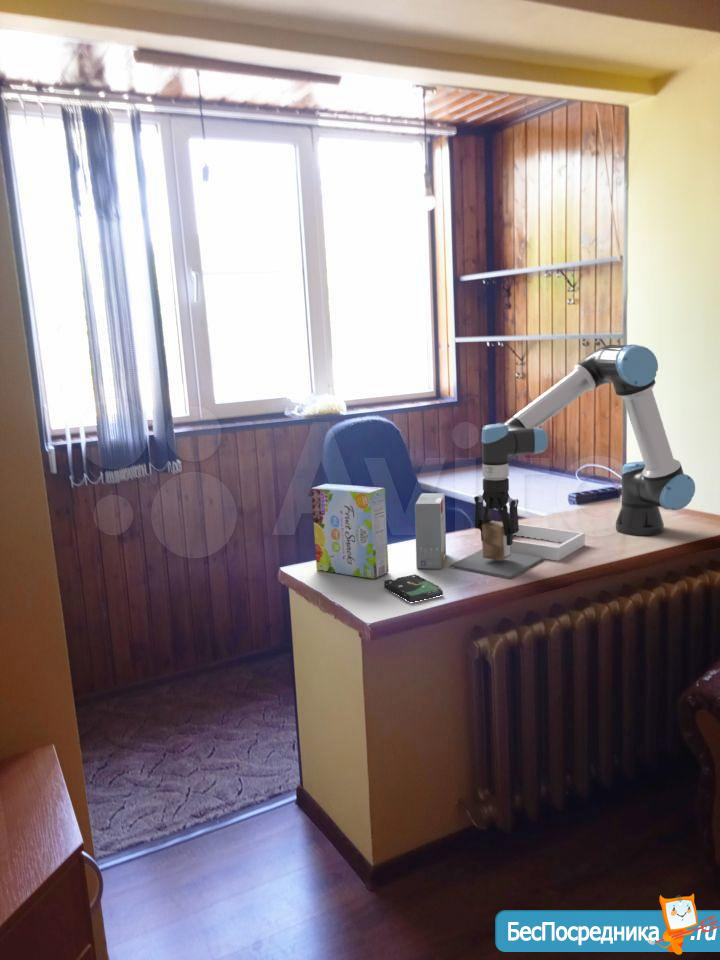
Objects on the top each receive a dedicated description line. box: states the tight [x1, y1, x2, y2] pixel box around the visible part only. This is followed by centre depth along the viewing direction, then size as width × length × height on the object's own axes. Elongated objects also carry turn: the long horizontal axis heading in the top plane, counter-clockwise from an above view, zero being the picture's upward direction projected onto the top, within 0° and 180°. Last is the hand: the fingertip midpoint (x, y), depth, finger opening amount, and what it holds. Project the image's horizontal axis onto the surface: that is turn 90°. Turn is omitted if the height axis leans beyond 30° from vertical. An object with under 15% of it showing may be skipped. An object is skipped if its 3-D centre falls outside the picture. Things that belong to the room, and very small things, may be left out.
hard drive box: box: [414, 492, 447, 570], centre depth 231 cm, size 16×8×20 cm, turn 168°
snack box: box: [310, 483, 390, 580], centre depth 225 cm, size 22×9×26 cm, turn 56°
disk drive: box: [383, 573, 444, 602], centre depth 207 cm, size 10×3×15 cm
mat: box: [449, 548, 544, 580], centre depth 227 cm, size 20×20×1 cm
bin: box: [481, 523, 586, 562], centre depth 242 cm, size 26×19×4 cm
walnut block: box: [482, 520, 511, 561], centre depth 226 cm, size 6×6×10 cm
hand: (496, 553), depth 226 cm, fingers closed on walnut block, 6 cm apart
